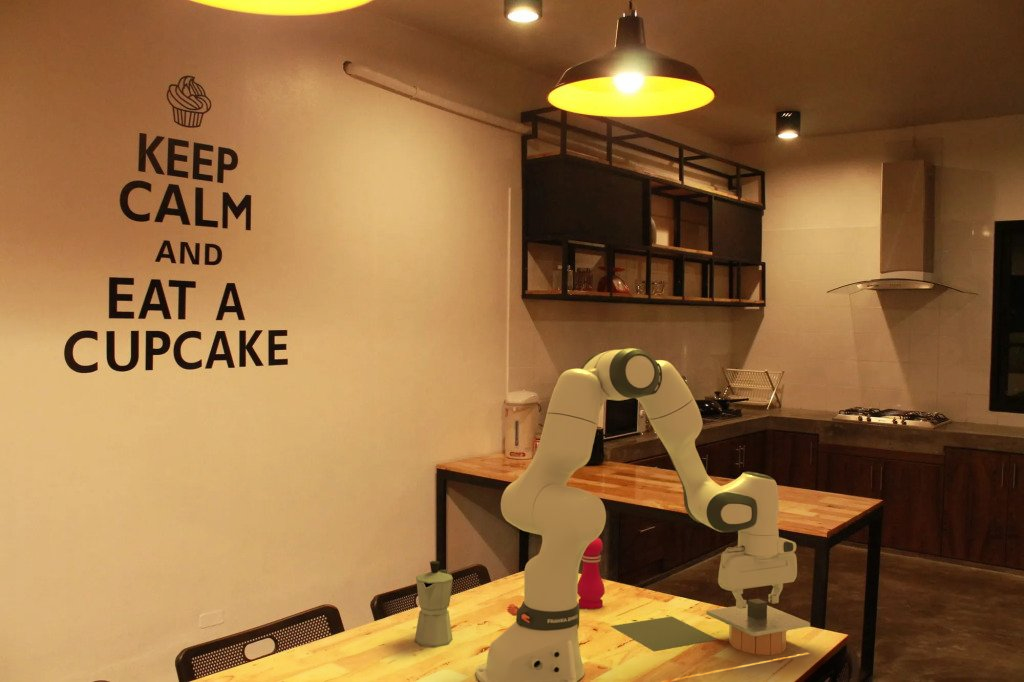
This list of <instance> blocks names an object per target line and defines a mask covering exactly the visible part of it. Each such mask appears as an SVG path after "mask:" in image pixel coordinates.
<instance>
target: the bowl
mask: <svg viewBox="0 0 1024 682" xmlns="http://www.w3.org/2000/svg"><path fill="white" fill-rule="evenodd" d="M728 630H729V632H728V633H729V635H728V637H729V639H728V642H729V644H730V646H731V647H733V648H735V649H736V650H739V651H741V652H744V653H749V654H752V655H765V656H766V655H767V656H769V655H777V654H781V653H783V652H784V651H785V650H786V649H787V631H781V632H775V633H770V634H764V635H759V636H752V635H750V634H748V633H746V632H744V631H741V630H739V629H737V628H735V627H733V626H731V625H729V626H728Z"/></svg>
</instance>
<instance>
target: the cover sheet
mask: <svg viewBox="0 0 1024 682" xmlns="http://www.w3.org/2000/svg"><path fill="white" fill-rule="evenodd" d="M705 615H707V616H710V617H711V618H713V619H716V620H718V621H720V622H722V623H724V624H726V625H731V626H733V627H735V628H737V629H739V630H741V631H744V632H746V633H748V634H750V635H752V636H759V635H764V634H770V633H775V632H781V631H786V632H787V631H792V630H797V629H802V628H809V627H811V622H809V621H807V620H804V619H801V618H799V617H798V616H797V617H796V616H794V615H792V614H790V613H787V612H784V611H782V610H780V609H777V608H775V607H773V606H769V605H768V602H767V601H765V600H763V599H760V598H753V599H747V603H746V608H742V609H739V608H737V607H736V605H735V606H728V607H722V608H721V607H720V608H716V609H715V608H713V609H708V610H706V611H705Z"/></svg>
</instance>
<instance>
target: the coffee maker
mask: <svg viewBox="0 0 1024 682" xmlns="http://www.w3.org/2000/svg"><path fill="white" fill-rule="evenodd" d="M429 565H430V571H429V572H424V573H421V574H418V575H416V576H415V578H416V579H415V580H416V586H417V587H416V588H417V597H418V605H419V608H420V610H419V613H418V616H417V617H418V619H417V623H416V630H415V637H414V643H415V644H418V645H419V646H421V647H428V648H439V647H442V646H448V645H450V643H451V642H452V641H453V632H452V625H451V620H450V619H451V618H450V611H449V610H448V607H450V603H451V602H450V601H451V596H452V588H453V580H454V578H453V576H452V574H450V573H448V570H447V569H440V561H437V560H432V561H430V562H429ZM439 569H440V570H439Z"/></svg>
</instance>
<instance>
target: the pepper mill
mask: <svg viewBox="0 0 1024 682" xmlns="http://www.w3.org/2000/svg"><path fill="white" fill-rule="evenodd" d="M603 547H604V545H603V541H602V539H601V538H599V537H598V538H597V539H595V540H594V541H593V542H591V543H590V544H589V545H588V546H587V548H586V549H585V551H584V553H583V556H582V558H581V562H583V563H582V572H581V575H580V576H579V577H580V578H578V589H577V596H579V597H580V598H578V604H579V609H581V610H585V609H587V610H597V609H601V608H603V605H604V603H603V602H604V601H603V599H602V597H604V595H605V592H606V591H605V584H604V581H603V579H602V577H601V574H600V567H599V565H600V561H601V560H602V559H601V557H602V555H601V552H602V551H603Z"/></svg>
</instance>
